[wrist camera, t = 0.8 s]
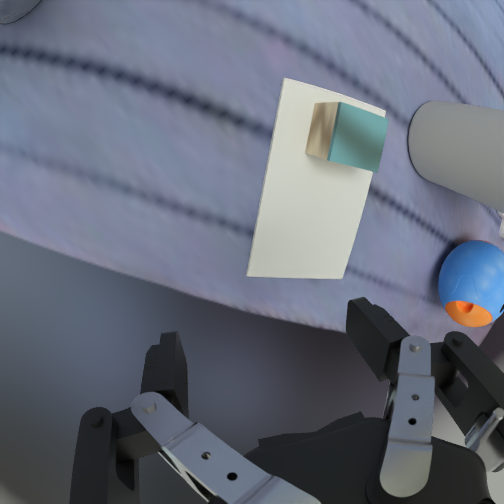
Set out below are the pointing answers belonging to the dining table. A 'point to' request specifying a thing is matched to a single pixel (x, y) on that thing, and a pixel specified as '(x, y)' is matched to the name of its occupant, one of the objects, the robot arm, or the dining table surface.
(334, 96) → the cream mat
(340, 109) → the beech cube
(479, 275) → the treat dispenser ball
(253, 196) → the dining table surface
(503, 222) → the white brass knuckles
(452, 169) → the cylinder vase
